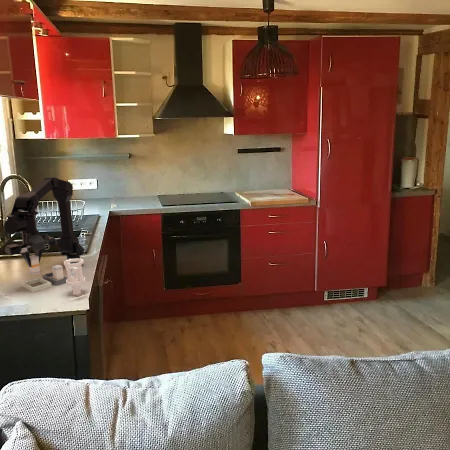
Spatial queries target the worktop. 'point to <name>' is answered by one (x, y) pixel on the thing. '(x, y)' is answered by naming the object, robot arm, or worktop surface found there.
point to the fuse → (57, 272)
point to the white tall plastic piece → (75, 275)
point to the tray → (28, 283)
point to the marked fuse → (34, 265)
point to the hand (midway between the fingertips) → (34, 266)
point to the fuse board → (50, 278)
